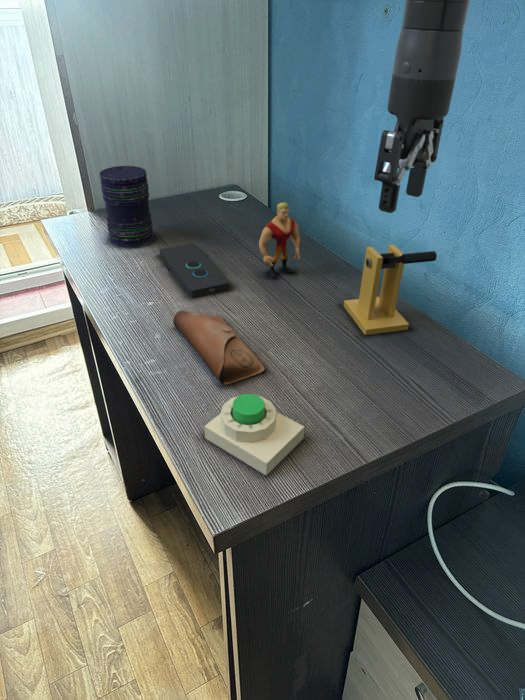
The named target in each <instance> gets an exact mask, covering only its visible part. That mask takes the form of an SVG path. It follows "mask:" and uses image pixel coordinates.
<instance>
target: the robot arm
mask: <svg viewBox="0 0 525 700" xmlns="http://www.w3.org/2000/svg"><path fill="white" fill-rule="evenodd" d="M470 1H471V0H405V4H404V10H403V15H402V23H401V28H400V34H399V37H398V40H397V44H396V49H395V54H394V59H393V60H394V61H393V68H392V75H391V80H390V87H389V94H388V100H387V107H386V109H387V112H388V113H390V115H392V116H395V117H396V120H397V121H396V123H395V126H394V129H393V131H392V130H386V129H384V130H383V131H382V132H381V136H380V140H379V147H378V153H377V159H376V163H375V171H374V181H378V182H380V183H381V190H380V195H379V201H378V202H379V203H378V209H379V211H381V212H384V213H388V214H393V213H394V212H396V211H397V206H398V201H399V195H400V190H401V189H400V188H401V183H402V181H403V178H404V176H405V174H406V172H407V171H408V172H409V173H408V178H407V184H406V189H405V193H406V195H407V196H409V197H415V198H419V197H420V196H422V195H423V192H424V187H425V183H426V177H427V173H428V170H430V168H431V167H432V163H435V162H436V161H437V158H438V153H439V148H440V141H441V136H442V131H443V127H444V122H445V120H444V119H445V117H446V116H448V114H449V110H450V107H451V103H452V98H453V93H454V88H455V83H456V79H457V73H458V68H459V64H460V59H461V55H462V47H463V36H464V29H465V25H466V21H467V16H468V10H469V6H470Z"/></svg>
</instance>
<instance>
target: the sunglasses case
mask: <svg viewBox="0 0 525 700" xmlns="http://www.w3.org/2000/svg"><path fill="white" fill-rule="evenodd" d="M172 324H173V326H174V327H175V328H176V329H177V331H178V332H179V333H180V334H181V335H182V337H183V338H184V339H185V341H187V343H188V344H189V345H190V346H191V348H192V349H193V350H194V352H195V353H196V354H197V355H198V357H199V358H200V359H201V361H203V363H204V364H205V366H206V367H207V368H208V370H209V371H210V372H211V374H212V375H213V376H214V377H215V379H216V380H217V381H218V382H220V384H222V385H223V386H229V385H232V384H237V383H240V382H242V381H246V380H248V379H250V378H253V377H256V376H258V375H260V374H262V373H263V372H265V371H266V367H265V366H264V364H263V363H262V362H261V360H260V359H259V358H258V357H257V356H256V354H255V353H254V352H253V351H252V350H251V349H250V348H249V346H248V345H247V344H245V342H244V341H243V340H242V339H241V338H240V337H239V336H238V334H236V332H235V331H234V330H233V329H232V328H231V327H230V325H228V324H227V322H226V321H225V320H224V318H222V317H221V316H220V315H211V314H205V313H204V314H203V313H202V314H201V313H195V312H192V311H188V310H184V309H181V310H179V311H177V312H176V313H175V315H174V316H173V319H172Z"/></svg>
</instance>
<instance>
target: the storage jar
mask: <svg viewBox="0 0 525 700" xmlns="http://www.w3.org/2000/svg"><path fill="white" fill-rule="evenodd" d="M147 175H148V174H147V170H146V169H145V168H142V167H140V166H133V165H119V166H118V165H117V166H111V167H107V168H104V169H102V170H101V171H100V172H99V178H100V189H101V193H102V198H103V201H104V203H105V210H106V226H107V232H108V235H109V241H110V244H111V245H113V246H115V247H118V248H123V249H134V248H140V247H144V246H147V245H149V244H150V243H152V242H153V241H154V234H153V231H154V230H153V228H154V227H153V226H154V225H153V221H152V214H151V212H150V202H149V198H150V192H149V189H150V188H149V182H148V177H147Z"/></svg>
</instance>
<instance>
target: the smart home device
mask: <svg viewBox="0 0 525 700" xmlns="http://www.w3.org/2000/svg"><path fill="white" fill-rule="evenodd" d="M158 251H159V258H160V259H161V261H162V262H163V263H164V265H165V266H166V267H167V268H168V270H169V271H170V272H171V274H172V275H173V276H174V278H175V280H177V282H178V283H179V284H180V286H181V287H182V288H183V290H184V291H185V292H186V294H187V296H189V297H190V298H192V299H193V298H198V297H203V296H208V295H212V294H216V293H222V292H228V291H229V290H230V280H229V279H228V278H227V277H226V276H225V275H224V274H223V273H222V272H221V270H220V269H218V267H217V266H216V265H215V264H214V263H213V262H212V261H211V260H210V258H209V257H208V256H207V255H206V254H204V252H203V251H202V250H201V249H200V248H199V247H198V245H196V244H195V243H193V242H192V243H186V244H180V245H175V246H174V245H173V246H169V247H162V248H159V250H158Z"/></svg>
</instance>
